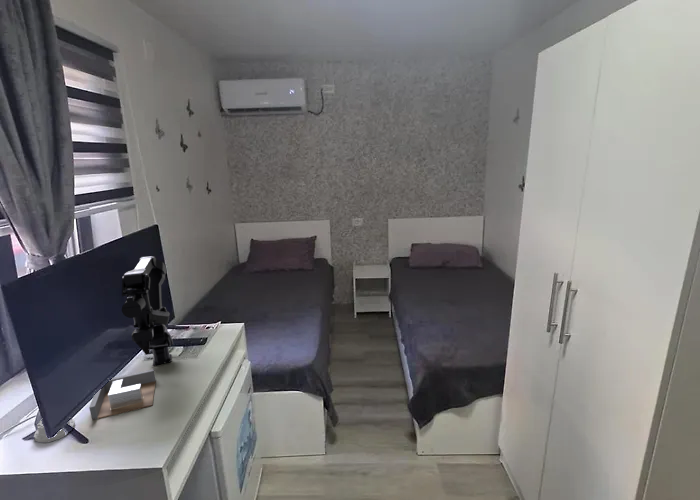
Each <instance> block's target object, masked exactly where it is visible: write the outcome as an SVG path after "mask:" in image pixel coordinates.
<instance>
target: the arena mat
mask: <svg viewBox="0 0 700 500" xmlns="http://www.w3.org/2000/svg"><path fill="white" fill-rule="evenodd" d="M156 381H157V380H156ZM156 381H154V382H149V383H145V384H141V389H142V394H143V401H142V402H140V403H136V404H132V405H127V406H123V407H119V408H114V409H111V406H110V402H109V397H108V394H109V392H106V394H105V397H104V400H103V403H102V406H101V409H100V412H99V415H98V419H99V420H100V419H104V418H108V417H111V416H115V415H121V414H125V413H128V412H131V411H137V410H140V409H145V408H149V406H150V407H152V406H153V405H154V397H155V390H156V389H155V388H156V384H157V383H156ZM98 419H97V418H95V419H94V420H93V419H92V418H91V421H95V420H98Z"/></svg>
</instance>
